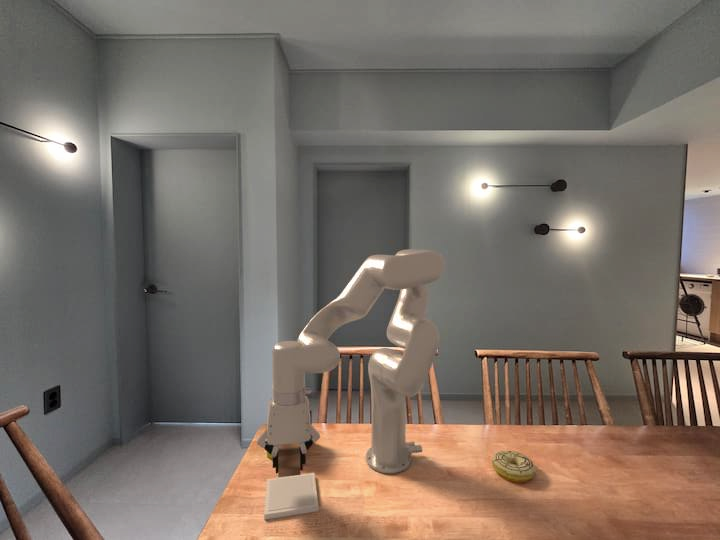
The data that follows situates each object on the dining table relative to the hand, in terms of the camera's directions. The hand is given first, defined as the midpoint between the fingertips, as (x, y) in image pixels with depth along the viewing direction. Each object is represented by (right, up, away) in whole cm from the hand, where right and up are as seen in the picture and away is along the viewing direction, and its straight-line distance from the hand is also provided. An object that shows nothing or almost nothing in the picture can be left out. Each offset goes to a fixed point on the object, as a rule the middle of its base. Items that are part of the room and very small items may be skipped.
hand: (289, 467), depth 85 cm
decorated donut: (+58, -7, +10) cm, 59 cm away
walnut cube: (0, -1, 0) cm, 1 cm away
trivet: (0, -8, +1) cm, 8 cm away
